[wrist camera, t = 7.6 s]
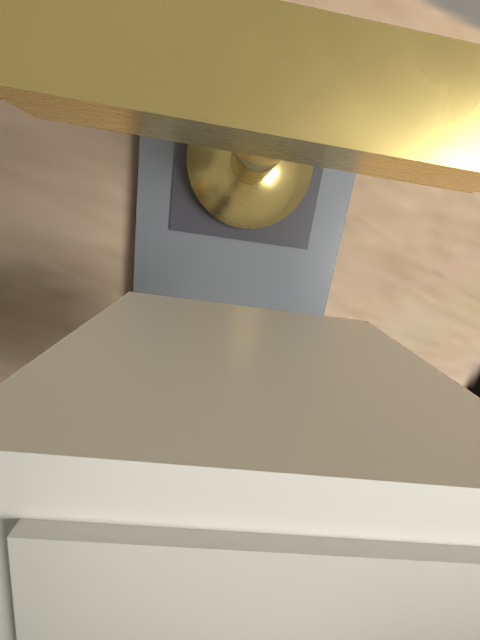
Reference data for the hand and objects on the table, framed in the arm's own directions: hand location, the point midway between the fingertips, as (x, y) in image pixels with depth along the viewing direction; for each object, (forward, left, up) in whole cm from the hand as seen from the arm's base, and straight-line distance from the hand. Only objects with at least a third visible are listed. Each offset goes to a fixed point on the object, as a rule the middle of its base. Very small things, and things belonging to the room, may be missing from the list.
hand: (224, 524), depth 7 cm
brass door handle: (+9, 0, -10) cm, 14 cm away
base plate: (+5, 0, -11) cm, 12 cm away
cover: (+1, 0, -1) cm, 2 cm away
